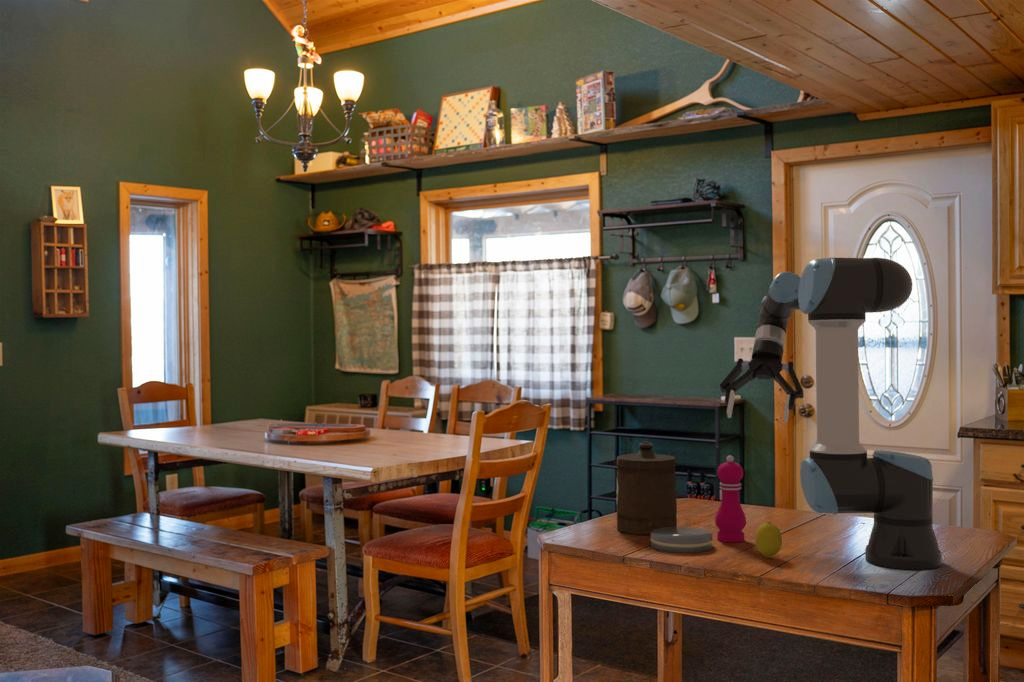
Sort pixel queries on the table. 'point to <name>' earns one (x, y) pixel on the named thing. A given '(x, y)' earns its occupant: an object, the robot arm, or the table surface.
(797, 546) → the table surface
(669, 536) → the grey flat disc
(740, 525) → the pepper mill
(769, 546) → the lemon
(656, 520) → the wooden container
